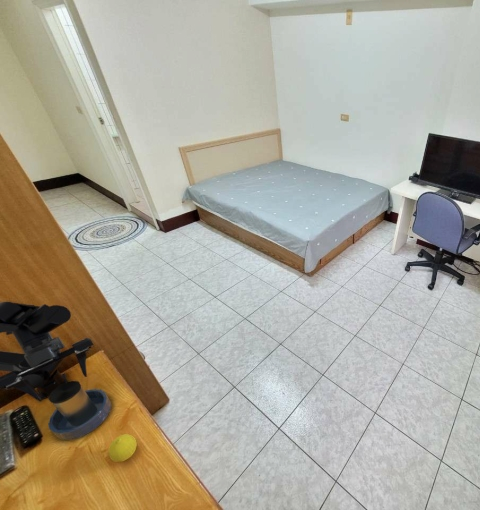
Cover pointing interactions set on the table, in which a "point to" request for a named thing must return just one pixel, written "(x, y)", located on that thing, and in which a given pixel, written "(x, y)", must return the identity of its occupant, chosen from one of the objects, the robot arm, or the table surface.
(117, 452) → the lemon
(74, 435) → the dish
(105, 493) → the table surface
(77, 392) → the tin
